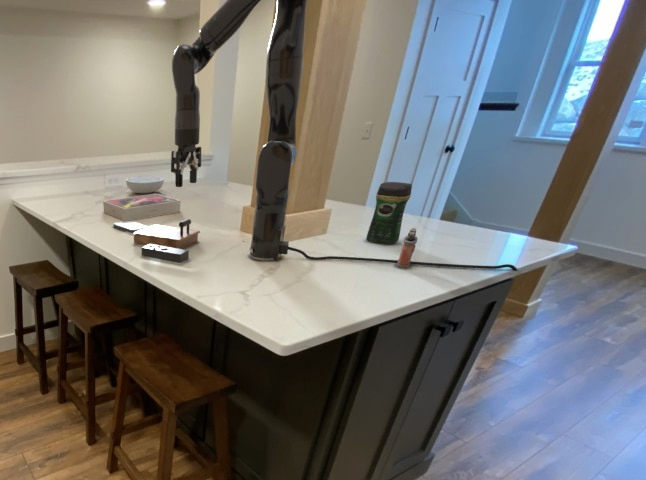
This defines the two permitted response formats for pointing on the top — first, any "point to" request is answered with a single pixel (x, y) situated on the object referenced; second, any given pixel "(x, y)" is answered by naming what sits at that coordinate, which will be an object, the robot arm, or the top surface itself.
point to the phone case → (130, 226)
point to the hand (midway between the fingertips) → (186, 184)
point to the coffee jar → (389, 212)
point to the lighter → (407, 249)
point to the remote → (165, 253)
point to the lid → (169, 232)
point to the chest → (165, 241)
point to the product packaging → (141, 206)
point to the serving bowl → (145, 184)
